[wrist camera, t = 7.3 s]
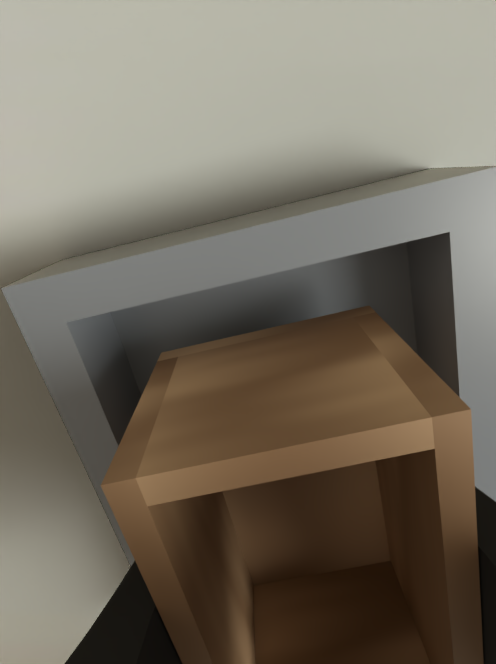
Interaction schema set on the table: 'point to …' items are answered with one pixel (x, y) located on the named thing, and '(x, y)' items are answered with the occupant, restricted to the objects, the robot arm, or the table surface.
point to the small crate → (304, 499)
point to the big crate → (274, 298)
